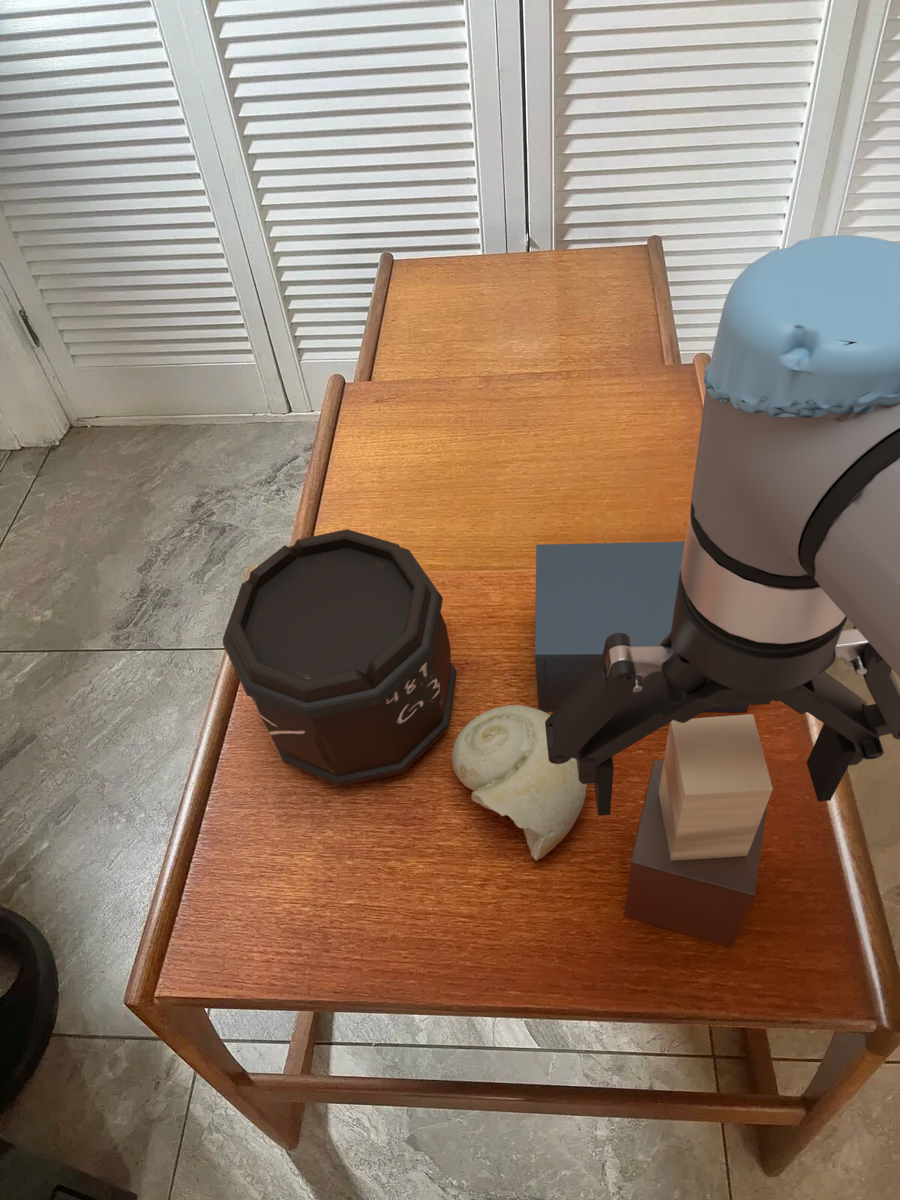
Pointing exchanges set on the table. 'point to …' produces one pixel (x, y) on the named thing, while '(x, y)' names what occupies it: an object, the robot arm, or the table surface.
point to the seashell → (519, 774)
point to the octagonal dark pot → (344, 655)
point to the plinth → (688, 880)
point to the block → (713, 787)
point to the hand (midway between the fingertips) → (708, 788)
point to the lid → (603, 596)
